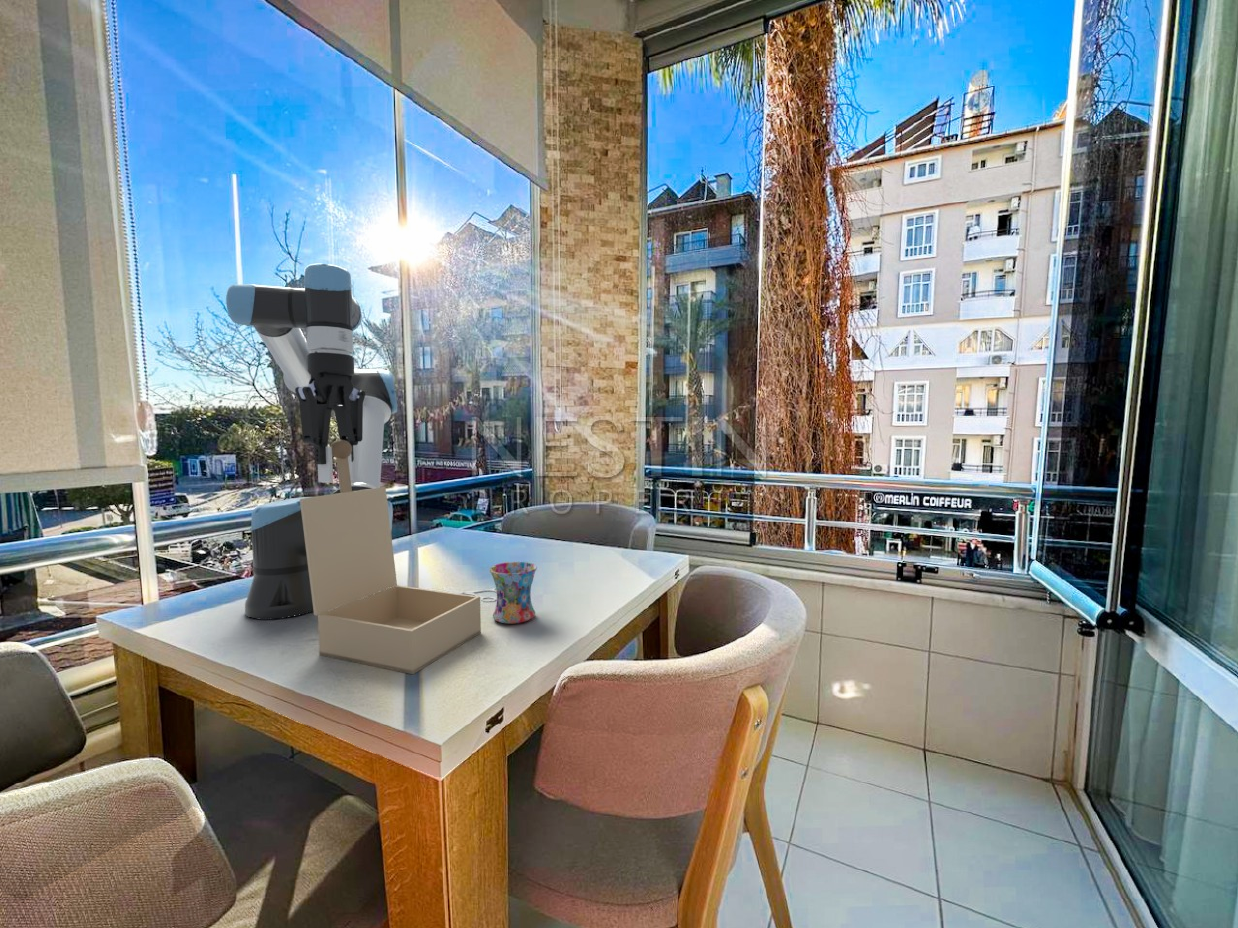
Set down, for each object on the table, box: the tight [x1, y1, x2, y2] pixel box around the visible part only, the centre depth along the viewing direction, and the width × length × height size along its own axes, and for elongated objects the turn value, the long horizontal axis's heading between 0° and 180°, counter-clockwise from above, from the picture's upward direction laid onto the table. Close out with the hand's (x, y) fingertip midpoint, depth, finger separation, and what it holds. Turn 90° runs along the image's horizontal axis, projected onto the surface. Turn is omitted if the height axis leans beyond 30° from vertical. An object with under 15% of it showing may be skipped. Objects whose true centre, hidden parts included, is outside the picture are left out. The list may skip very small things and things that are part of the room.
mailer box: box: [317, 584, 482, 675], centre depth 95 cm, size 20×18×7 cm
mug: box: [489, 561, 538, 625], centre depth 109 cm, size 12×9×11 cm
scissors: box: [431, 587, 497, 603], centre depth 124 cm, size 11×1×20 cm
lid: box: [300, 439, 398, 616], centre depth 98 cm, size 30×18×4 cm
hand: (335, 480), depth 99 cm, fingers closed on lid, 4 cm apart
